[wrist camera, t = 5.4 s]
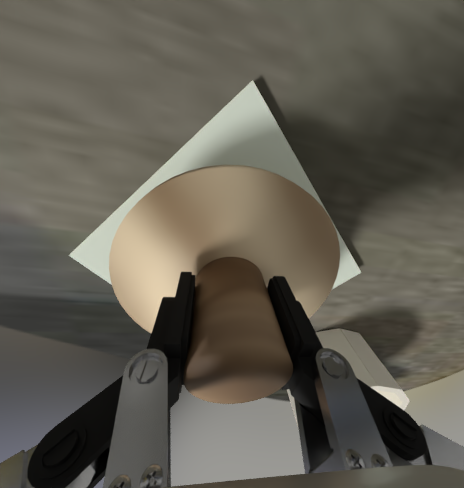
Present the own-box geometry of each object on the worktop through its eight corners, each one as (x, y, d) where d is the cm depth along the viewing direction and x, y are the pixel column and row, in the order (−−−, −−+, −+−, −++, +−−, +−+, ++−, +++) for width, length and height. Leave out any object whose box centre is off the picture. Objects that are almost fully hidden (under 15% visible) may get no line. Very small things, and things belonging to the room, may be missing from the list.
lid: (253, 92, 8) (328, 19, 3) (362, 281, 13) (452, 371, 8) (66, 270, 11) (-58, 386, 6) (217, 361, 17) (218, 460, 12)
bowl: (346, 315, 20) (389, 371, 15) (377, 358, 24) (418, 413, 19) (265, 358, 22) (279, 419, 17) (306, 391, 26) (326, 447, 21)
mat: (250, 83, 11) (252, 80, 10) (356, 268, 17) (361, 272, 17) (74, 251, 14) (68, 255, 14) (216, 350, 21) (216, 355, 20)
